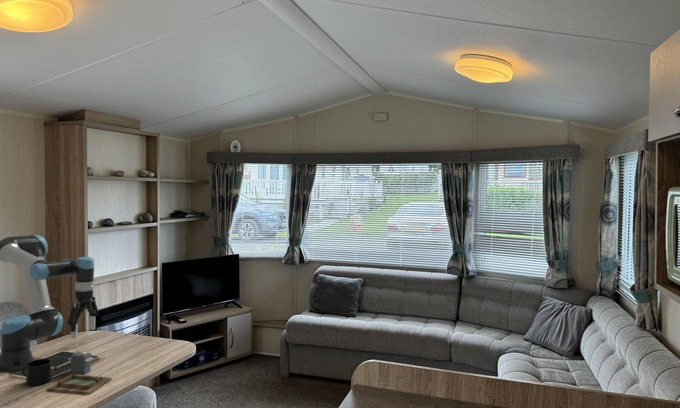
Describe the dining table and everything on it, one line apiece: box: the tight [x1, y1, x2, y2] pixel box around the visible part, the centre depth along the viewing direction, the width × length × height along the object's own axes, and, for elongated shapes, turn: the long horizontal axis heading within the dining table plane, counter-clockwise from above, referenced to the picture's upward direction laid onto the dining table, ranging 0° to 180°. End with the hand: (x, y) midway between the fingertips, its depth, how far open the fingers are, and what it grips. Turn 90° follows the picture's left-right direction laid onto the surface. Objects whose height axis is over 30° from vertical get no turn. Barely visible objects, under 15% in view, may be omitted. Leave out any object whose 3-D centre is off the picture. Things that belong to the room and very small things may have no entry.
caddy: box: [46, 373, 112, 395], centre depth 213 cm, size 20×16×2 cm
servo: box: [67, 351, 94, 375], centre depth 227 cm, size 10×4×10 cm, turn 84°
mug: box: [21, 358, 52, 387], centre depth 215 cm, size 9×12×9 cm
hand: (83, 333), depth 227 cm, fingers open, 13 cm apart
